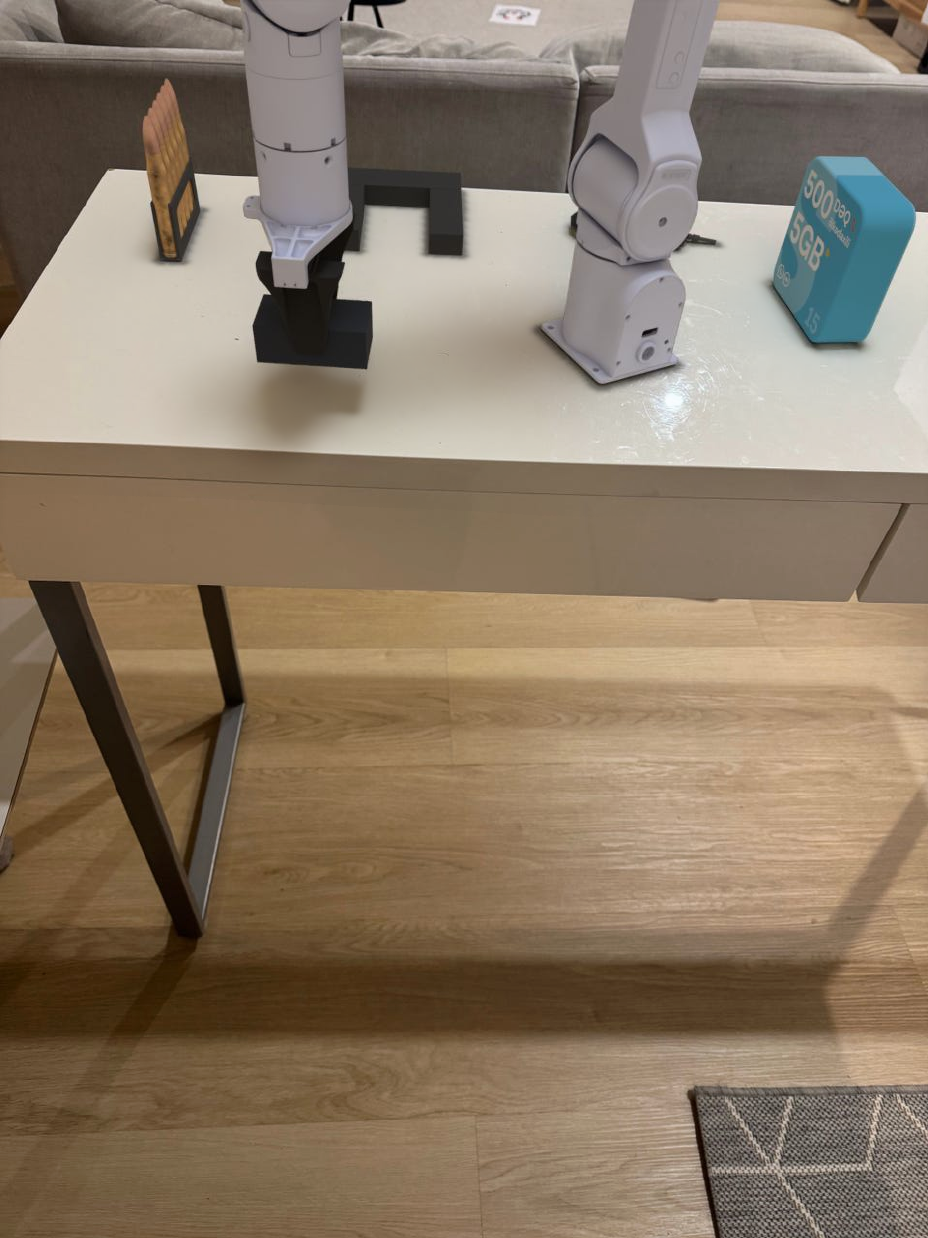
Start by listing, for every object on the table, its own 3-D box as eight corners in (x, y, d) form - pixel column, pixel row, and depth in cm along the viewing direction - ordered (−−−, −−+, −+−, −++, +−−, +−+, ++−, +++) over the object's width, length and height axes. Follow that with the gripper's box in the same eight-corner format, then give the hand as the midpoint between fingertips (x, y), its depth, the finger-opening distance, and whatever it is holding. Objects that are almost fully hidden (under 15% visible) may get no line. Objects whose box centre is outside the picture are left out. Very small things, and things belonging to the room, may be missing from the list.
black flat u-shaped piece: (462, 255, 87) (463, 234, 85) (325, 249, 86) (324, 228, 84) (459, 192, 96) (460, 172, 94) (336, 186, 95) (335, 166, 94)
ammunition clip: (181, 208, 90) (158, 73, 81) (200, 209, 90) (179, 75, 81) (160, 260, 83) (131, 119, 74) (181, 261, 83) (154, 120, 74)
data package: (769, 281, 87) (812, 149, 78) (813, 280, 87) (861, 150, 78) (814, 349, 79) (868, 212, 70) (863, 349, 79) (923, 212, 70)
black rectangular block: (373, 337, 69) (372, 300, 66) (367, 369, 66) (365, 332, 63) (267, 330, 68) (263, 293, 66) (256, 362, 66) (251, 325, 63)
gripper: (256, 87, 61) (277, 279, 71) (209, 178, 51) (240, 385, 61) (361, 95, 61) (367, 285, 71) (334, 187, 51) (345, 391, 61)
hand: (315, 332), depth 66 cm, fingers closed on black rectangular block, 4 cm apart
